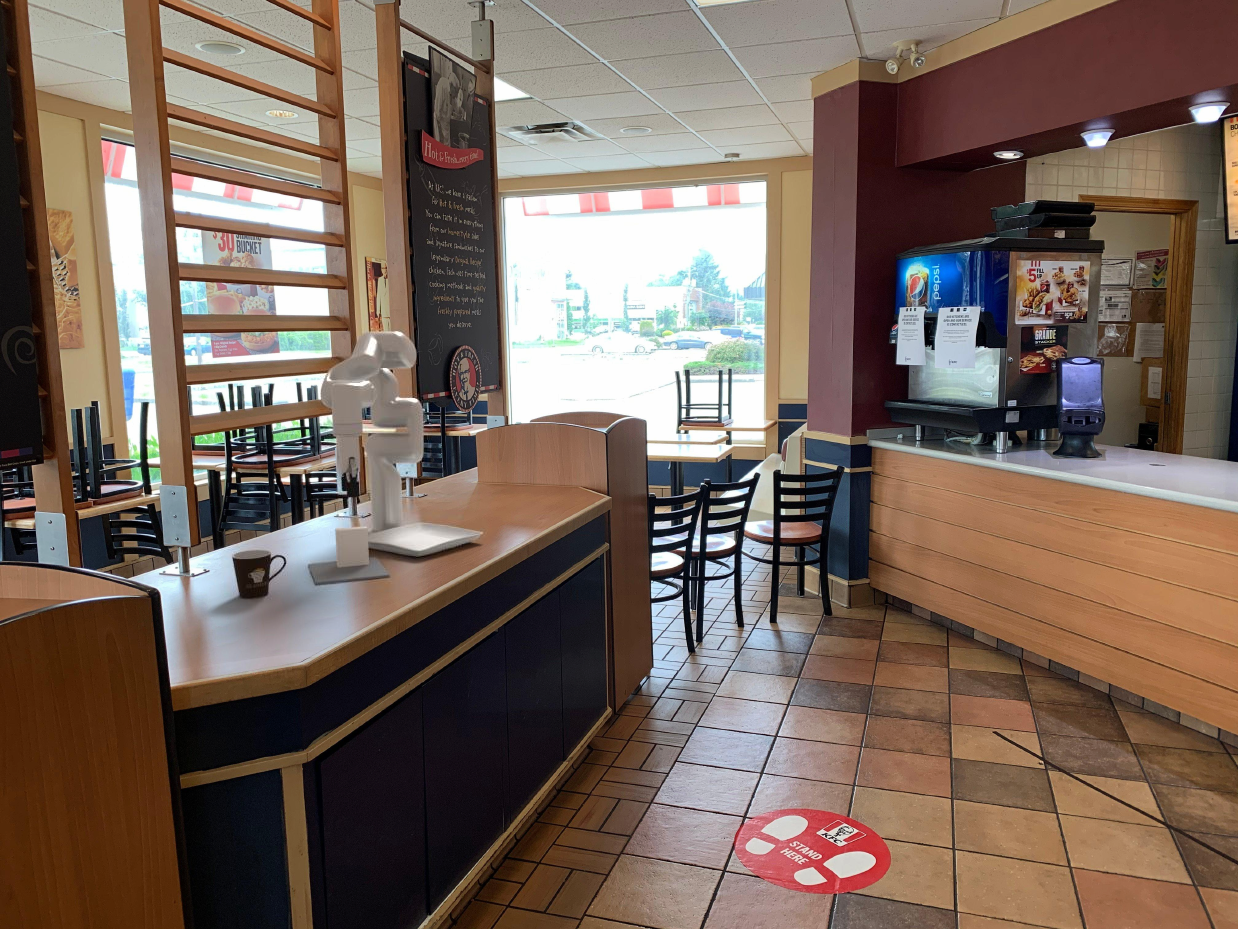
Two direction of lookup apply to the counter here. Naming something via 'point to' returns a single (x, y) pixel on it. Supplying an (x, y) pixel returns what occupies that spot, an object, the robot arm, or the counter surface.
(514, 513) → the counter surface
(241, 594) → the coffee mug
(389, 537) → the square plate
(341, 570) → the mat
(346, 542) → the tile
